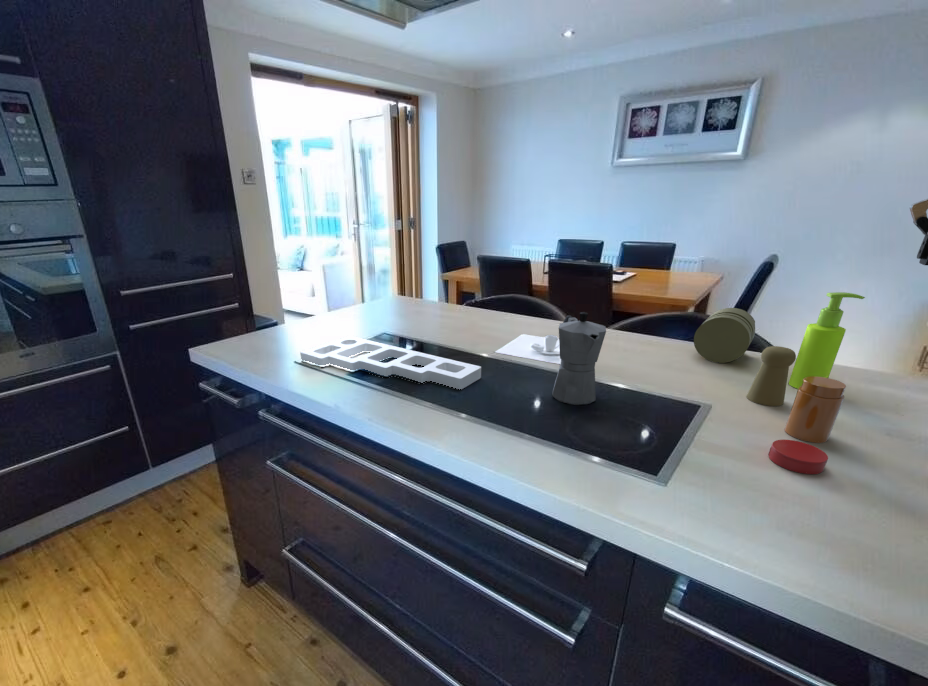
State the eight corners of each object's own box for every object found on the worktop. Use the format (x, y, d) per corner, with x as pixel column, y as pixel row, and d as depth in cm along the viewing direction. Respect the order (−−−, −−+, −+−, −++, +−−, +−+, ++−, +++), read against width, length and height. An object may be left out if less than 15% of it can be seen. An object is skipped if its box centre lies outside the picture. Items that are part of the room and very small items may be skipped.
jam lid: (768, 465, 68) (772, 453, 67) (767, 446, 73) (770, 435, 72) (826, 479, 64) (831, 467, 63) (820, 458, 69) (825, 446, 68)
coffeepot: (609, 408, 87) (624, 319, 80) (562, 410, 86) (572, 321, 79) (579, 379, 101) (589, 301, 94) (538, 381, 101) (545, 303, 94)
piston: (749, 354, 113) (762, 311, 109) (742, 367, 105) (755, 321, 101) (699, 345, 120) (709, 305, 116) (689, 357, 112) (699, 314, 108)
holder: (481, 377, 103) (482, 366, 102) (436, 404, 91) (435, 392, 90) (350, 344, 130) (349, 335, 129) (300, 361, 117) (299, 352, 116)
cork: (788, 407, 85) (806, 354, 81) (751, 403, 87) (767, 351, 83) (777, 395, 90) (793, 344, 86) (742, 392, 92) (757, 342, 88)
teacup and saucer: (527, 352, 119) (528, 337, 117) (537, 344, 125) (539, 330, 123) (559, 357, 114) (561, 342, 113) (568, 349, 120) (570, 335, 119)
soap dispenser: (835, 393, 90) (872, 296, 83) (795, 390, 92) (827, 295, 85) (822, 383, 95) (855, 290, 88) (783, 379, 98) (813, 289, 90)
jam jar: (821, 429, 77) (840, 378, 73) (833, 445, 72) (855, 391, 69) (780, 424, 79) (797, 373, 76) (789, 439, 75) (808, 386, 71)
